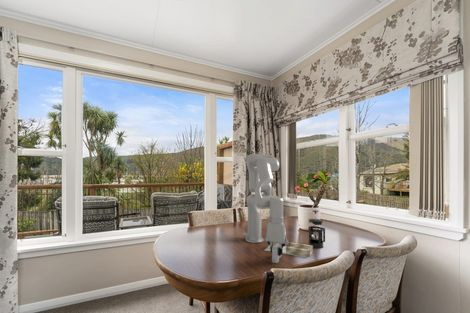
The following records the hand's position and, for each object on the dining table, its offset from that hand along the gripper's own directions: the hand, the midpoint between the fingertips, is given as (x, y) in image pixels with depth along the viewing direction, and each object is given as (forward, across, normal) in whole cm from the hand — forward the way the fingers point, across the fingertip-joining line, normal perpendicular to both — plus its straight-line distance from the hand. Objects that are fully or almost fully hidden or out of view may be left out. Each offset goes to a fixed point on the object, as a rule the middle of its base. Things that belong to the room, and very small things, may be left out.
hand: (276, 254), depth 128 cm
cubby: (+3, +9, +18) cm, 20 cm away
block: (+3, -6, +18) cm, 19 cm away
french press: (+4, +16, +35) cm, 39 cm away
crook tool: (+4, 0, +3) cm, 5 cm away
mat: (+3, +2, +18) cm, 19 cm away
